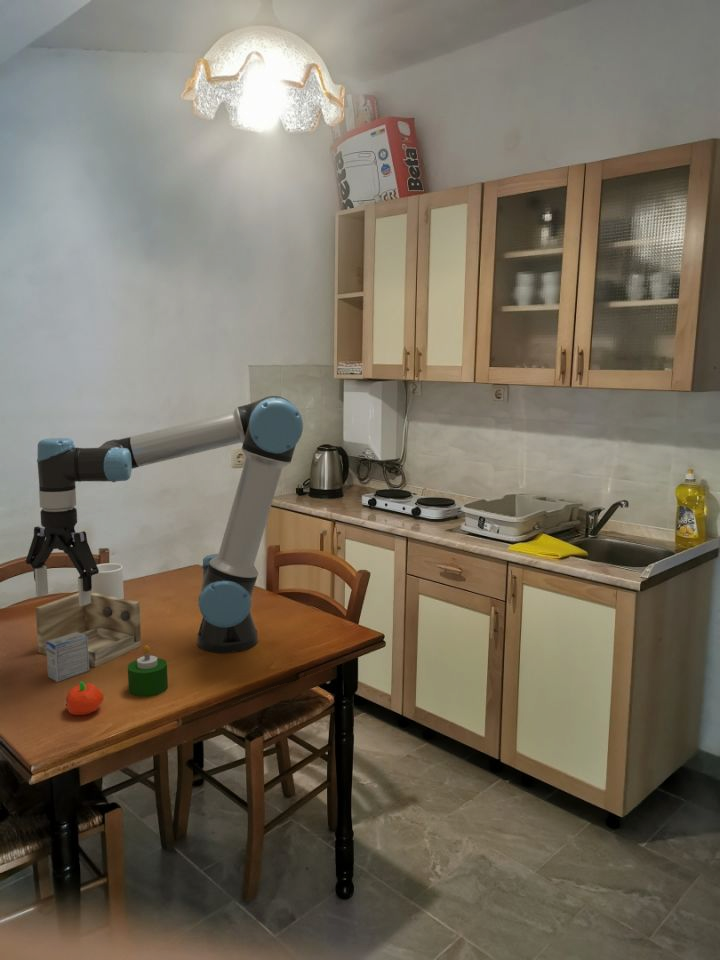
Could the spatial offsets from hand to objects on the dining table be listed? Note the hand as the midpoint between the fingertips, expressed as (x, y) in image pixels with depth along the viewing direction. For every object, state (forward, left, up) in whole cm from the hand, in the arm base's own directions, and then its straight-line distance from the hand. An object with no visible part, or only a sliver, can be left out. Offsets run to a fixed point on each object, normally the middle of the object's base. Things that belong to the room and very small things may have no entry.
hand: (63, 599), depth 168 cm
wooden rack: (+5, -12, -17) cm, 22 cm away
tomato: (-19, +12, -18) cm, 28 cm away
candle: (-23, -2, -17) cm, 29 cm away
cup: (+14, -27, -17) cm, 35 cm away
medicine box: (-2, +1, -17) cm, 18 cm away
